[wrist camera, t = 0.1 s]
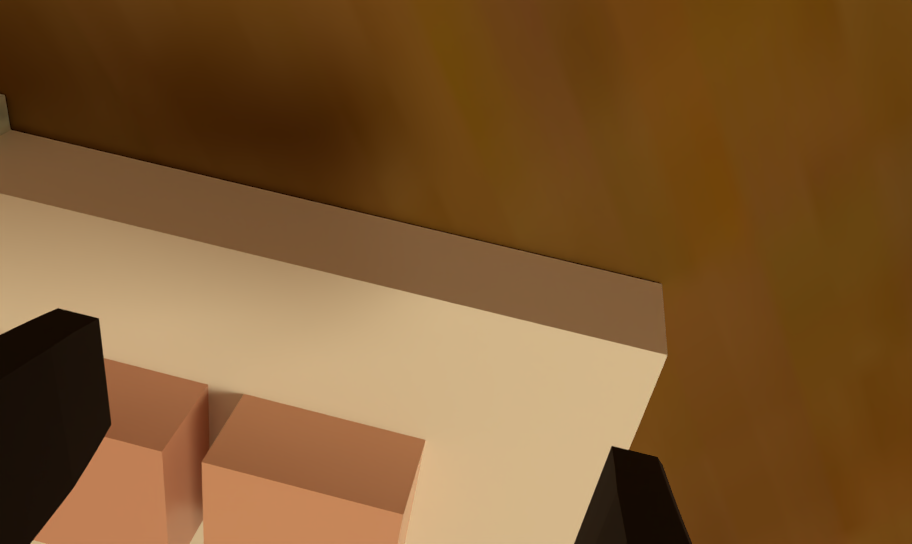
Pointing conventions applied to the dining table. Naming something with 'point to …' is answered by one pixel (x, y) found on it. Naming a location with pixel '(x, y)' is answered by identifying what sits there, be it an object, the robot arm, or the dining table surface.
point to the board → (345, 327)
